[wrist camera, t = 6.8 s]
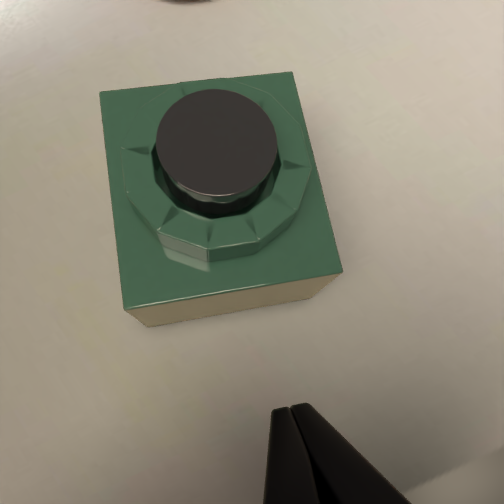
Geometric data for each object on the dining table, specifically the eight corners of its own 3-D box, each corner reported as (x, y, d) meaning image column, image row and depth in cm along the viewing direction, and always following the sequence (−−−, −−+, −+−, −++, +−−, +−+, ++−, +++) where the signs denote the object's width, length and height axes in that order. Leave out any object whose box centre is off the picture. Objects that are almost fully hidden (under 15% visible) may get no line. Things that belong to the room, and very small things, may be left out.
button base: (311, 298, 24) (357, 261, 16) (146, 327, 23) (113, 302, 15) (274, 139, 26) (299, 42, 19) (125, 158, 25) (87, 62, 18)
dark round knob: (281, 205, 17) (288, 187, 15) (169, 222, 16) (164, 204, 15) (259, 109, 18) (264, 82, 16) (154, 122, 18) (148, 95, 16)
